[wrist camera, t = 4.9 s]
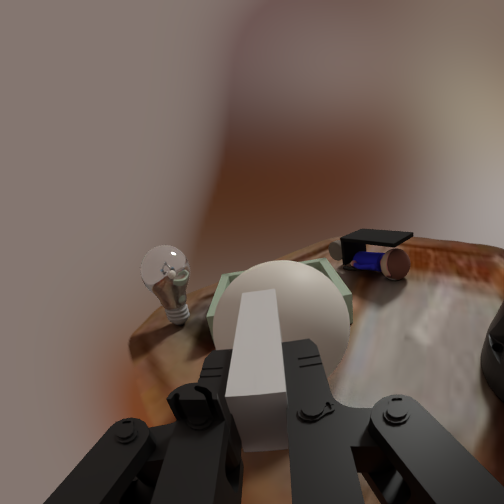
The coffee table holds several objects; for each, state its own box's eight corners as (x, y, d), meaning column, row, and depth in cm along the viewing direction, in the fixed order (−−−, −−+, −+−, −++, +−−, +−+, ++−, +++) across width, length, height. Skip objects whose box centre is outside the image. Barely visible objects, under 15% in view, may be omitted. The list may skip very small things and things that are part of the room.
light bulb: (165, 342, 34) (137, 257, 31) (155, 323, 40) (132, 249, 37) (210, 324, 37) (189, 241, 34) (194, 308, 43) (175, 236, 40)
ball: (373, 385, 20) (380, 262, 17) (250, 441, 17) (211, 318, 14) (312, 331, 31) (302, 236, 28) (218, 364, 28) (190, 265, 25)
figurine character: (330, 277, 49) (398, 288, 36) (323, 237, 48) (393, 237, 34) (353, 266, 52) (418, 273, 38) (347, 228, 51) (414, 227, 37)
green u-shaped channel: (352, 323, 31) (352, 293, 30) (214, 344, 32) (206, 316, 31) (327, 280, 44) (325, 257, 43) (227, 296, 46) (222, 274, 45)
